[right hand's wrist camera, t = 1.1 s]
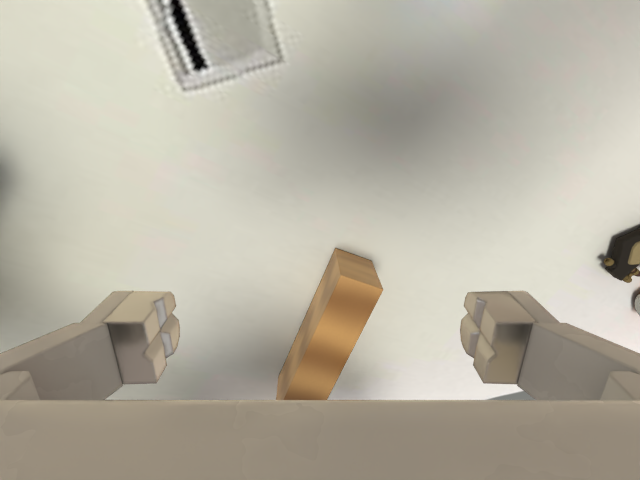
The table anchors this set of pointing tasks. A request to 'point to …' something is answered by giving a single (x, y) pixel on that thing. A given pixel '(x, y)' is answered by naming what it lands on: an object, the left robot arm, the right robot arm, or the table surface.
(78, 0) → the table surface
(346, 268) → the bar
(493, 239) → the table surface
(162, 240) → the table surface
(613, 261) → the spray gun
